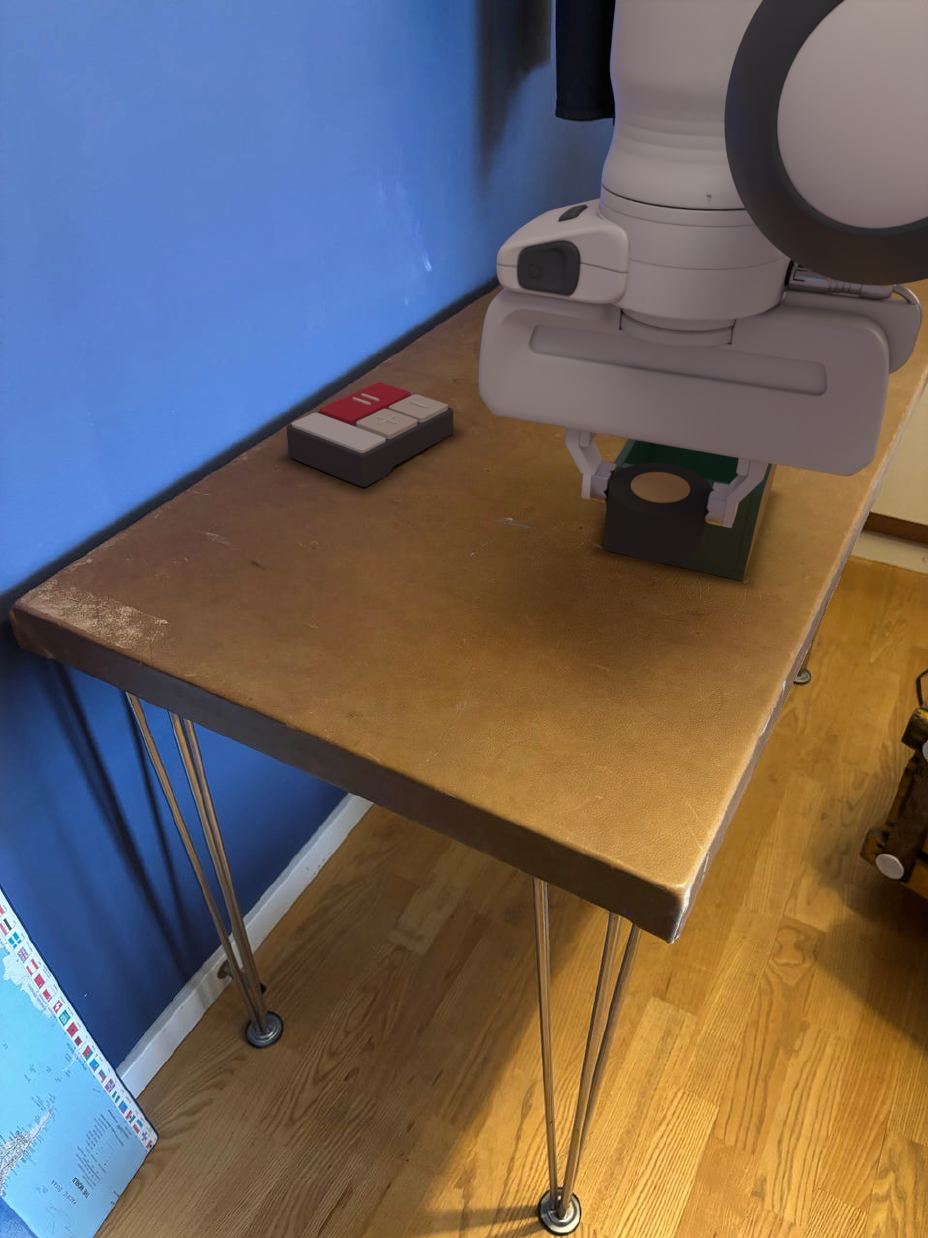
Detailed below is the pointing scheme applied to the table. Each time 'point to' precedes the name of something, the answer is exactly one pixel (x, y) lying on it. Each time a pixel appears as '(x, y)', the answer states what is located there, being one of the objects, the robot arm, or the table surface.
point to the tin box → (721, 545)
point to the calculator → (369, 432)
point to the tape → (656, 511)
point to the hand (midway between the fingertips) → (656, 508)
